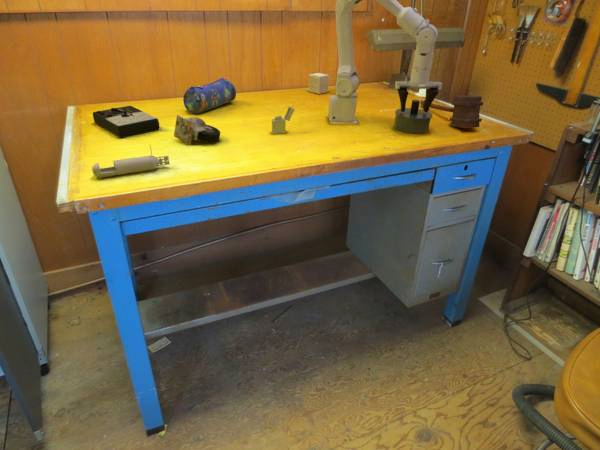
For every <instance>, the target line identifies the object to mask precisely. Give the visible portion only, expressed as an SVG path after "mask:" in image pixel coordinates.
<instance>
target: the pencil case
mask: <svg viewBox="0 0 600 450" xmlns="http://www.w3.org/2000/svg"><path fill="white" fill-rule="evenodd" d="M236 97H237V89H236V87H235V85H234V83H232V82H231V81H230V80H228V79H226V78H225V77H221V78H218V79H216V80H215V81H213V82H210V83H206V84H202V85H195V84H193V85H191V86H190V87H188V88H187V89H186V90H185V92H184V94H183V98H182V100H183V105H184V108H185V109H186V111H188V112H189V113H190V114H192V115H196V114H201V113H203V112H206V111H210V110H213V109H216V108H218V107H220V106H223V105H225V104H229V103H231V102H233V101H234V100H235V99H236Z"/></svg>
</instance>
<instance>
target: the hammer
mask: <svg viewBox="0 0 600 450" xmlns="http://www.w3.org/2000/svg"><path fill="white" fill-rule="evenodd" d="M453 98H454V101H452V102H451V105H452V106H453V107H451V106H450V107H449V106H445V105H440V104H436V103H433V102H432V103H431V105H430V107H429V109H435V110H439V111H443V112H449V113H452V116H450V117H449V122H450V124H449V126H450V127H455V128H461V129H473V128H474V129H475V128H476V129H477V128H480V123H482V121H483V118H480V111H481V106H483V105H484V101H483V102H482V99H483V96H480V95H479V96H478V95H454V97H453ZM419 101H420V103H419V105H420V106H422V108H424V104H425V99H424V100H422V99H421V100H419Z"/></svg>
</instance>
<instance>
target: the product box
mask: <svg viewBox="0 0 600 450" xmlns="http://www.w3.org/2000/svg"><path fill="white" fill-rule="evenodd" d="M308 82H309V83H308V84H309V86H308V92H309V93H313V94H317V95H321V94H325V93H328V92H329V82H330V75H329V74H327V73H321V72H315V73H311V74H309V81H308Z"/></svg>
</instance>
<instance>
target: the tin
mask: <svg viewBox="0 0 600 450" xmlns="http://www.w3.org/2000/svg"><path fill="white" fill-rule="evenodd" d="M431 119H432V118H430V119H427V120H412V119H406V118H402V117H399V116H397V115H396V114H395V116H394V124H393V129H394V130H395V131H397V132H399V133H403V134H407V135H425V134H427V133H428V132H429V129H430V125H431Z"/></svg>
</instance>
